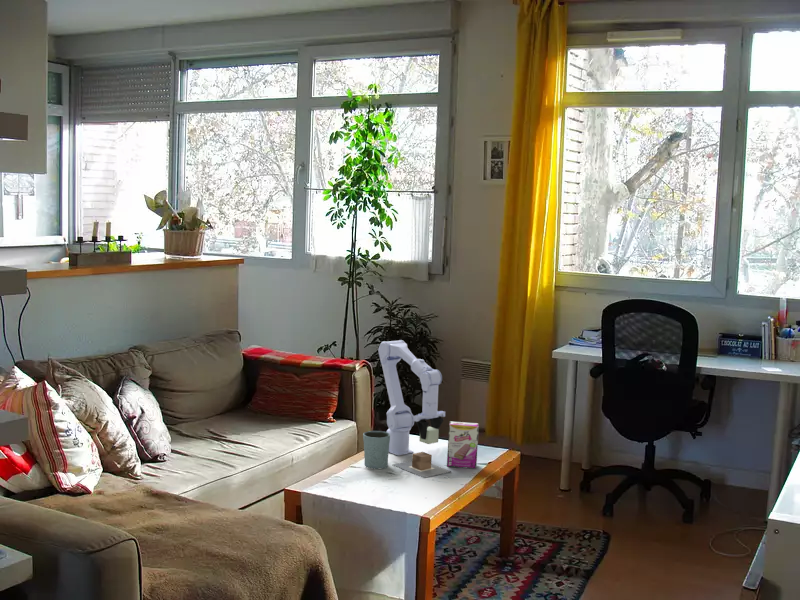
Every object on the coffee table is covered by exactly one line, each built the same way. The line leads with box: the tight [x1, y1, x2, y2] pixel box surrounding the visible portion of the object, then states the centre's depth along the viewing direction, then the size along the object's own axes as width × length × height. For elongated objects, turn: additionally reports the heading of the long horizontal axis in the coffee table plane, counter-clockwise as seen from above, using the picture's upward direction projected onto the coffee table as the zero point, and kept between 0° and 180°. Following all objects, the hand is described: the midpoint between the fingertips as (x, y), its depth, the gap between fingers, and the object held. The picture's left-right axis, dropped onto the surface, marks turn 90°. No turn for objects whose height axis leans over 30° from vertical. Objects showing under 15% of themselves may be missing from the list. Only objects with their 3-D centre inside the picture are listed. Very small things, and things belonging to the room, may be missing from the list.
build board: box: [392, 460, 452, 479], centre depth 315 cm, size 18×13×1 cm
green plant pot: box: [362, 430, 390, 470], centre depth 317 cm, size 10×10×12 cm
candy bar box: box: [446, 420, 480, 469], centre depth 320 cm, size 11×5×16 cm, turn 84°
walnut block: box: [411, 451, 432, 470], centre depth 315 cm, size 5×5×5 cm
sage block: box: [419, 425, 440, 445], centre depth 321 cm, size 5×5×5 cm
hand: (428, 437), depth 321 cm, fingers closed on sage block, 5 cm apart
